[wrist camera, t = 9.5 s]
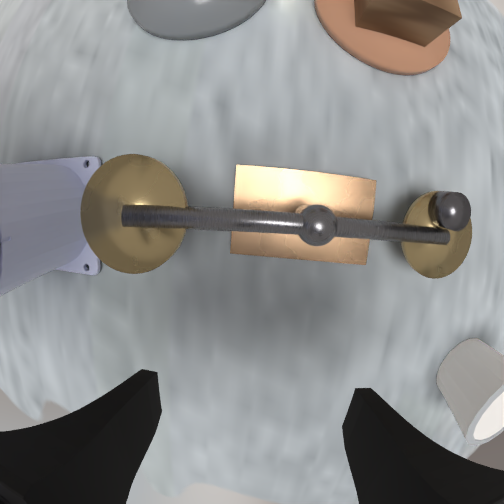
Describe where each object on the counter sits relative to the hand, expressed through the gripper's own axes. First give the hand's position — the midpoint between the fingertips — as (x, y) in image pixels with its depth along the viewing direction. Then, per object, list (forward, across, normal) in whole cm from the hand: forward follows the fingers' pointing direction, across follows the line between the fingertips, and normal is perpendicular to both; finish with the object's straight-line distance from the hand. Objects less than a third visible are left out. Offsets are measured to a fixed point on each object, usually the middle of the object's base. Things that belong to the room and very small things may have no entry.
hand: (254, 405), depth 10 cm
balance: (+9, -2, -6) cm, 11 cm away
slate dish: (+9, +6, -22) cm, 25 cm away
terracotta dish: (+9, -7, -21) cm, 24 cm away
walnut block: (+8, -7, -21) cm, 24 cm away
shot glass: (+10, -18, +5) cm, 21 cm away
